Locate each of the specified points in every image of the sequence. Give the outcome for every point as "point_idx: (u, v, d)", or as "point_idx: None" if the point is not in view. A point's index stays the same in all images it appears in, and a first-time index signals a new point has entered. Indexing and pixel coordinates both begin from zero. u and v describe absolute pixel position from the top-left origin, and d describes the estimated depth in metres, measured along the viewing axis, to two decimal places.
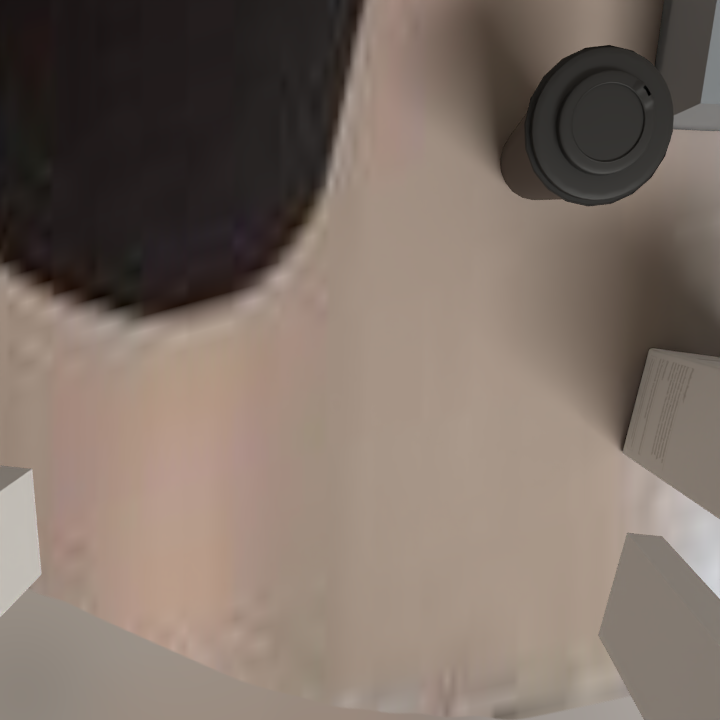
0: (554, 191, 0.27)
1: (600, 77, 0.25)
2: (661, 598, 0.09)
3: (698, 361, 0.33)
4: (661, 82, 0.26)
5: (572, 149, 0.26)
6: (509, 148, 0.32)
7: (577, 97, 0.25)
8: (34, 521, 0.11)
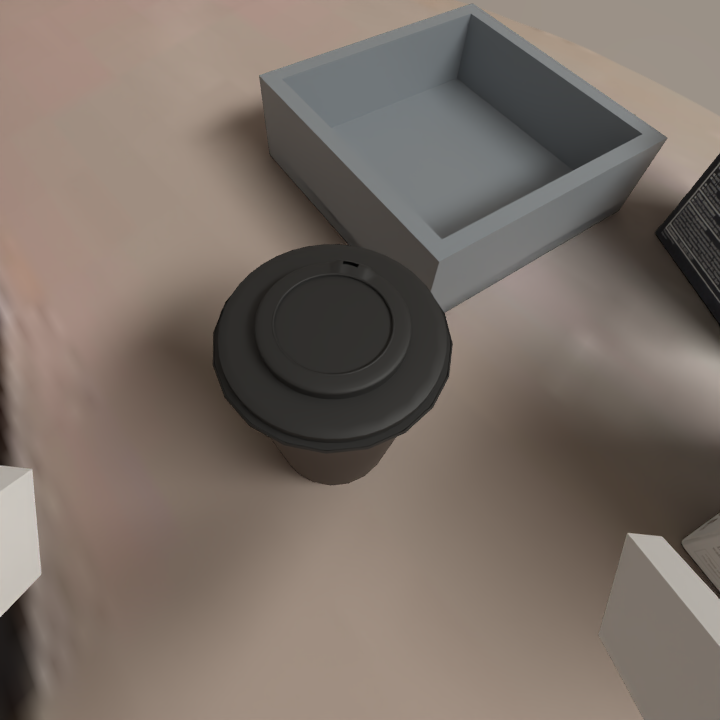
0: (338, 449, 0.15)
1: (281, 286, 0.16)
2: (661, 598, 0.09)
3: None
4: (363, 252, 0.18)
5: (310, 379, 0.15)
6: None
7: (267, 321, 0.16)
8: (34, 521, 0.11)
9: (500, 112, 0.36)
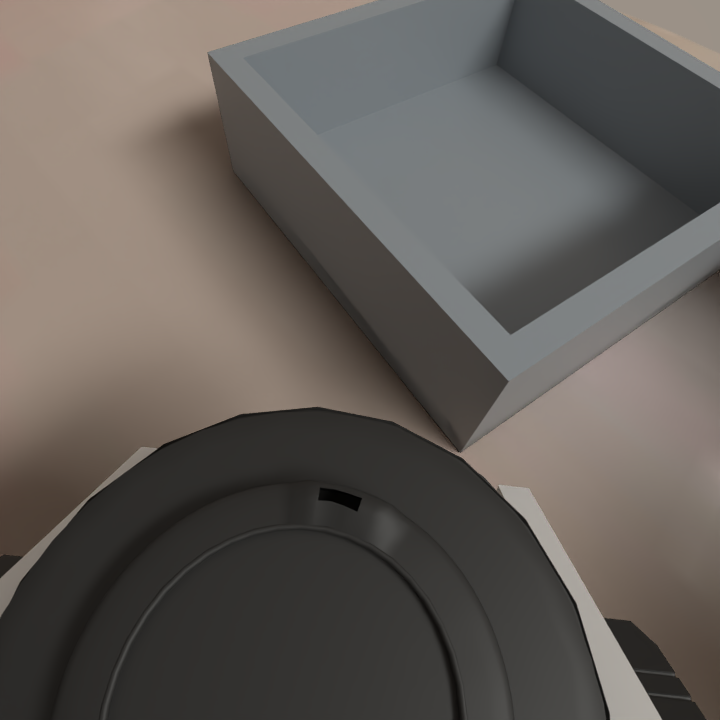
0: None
1: (147, 574, 0.06)
2: None
3: None
4: (373, 434, 0.07)
5: None
6: None
7: (87, 719, 0.05)
8: None
9: (560, 111, 0.25)
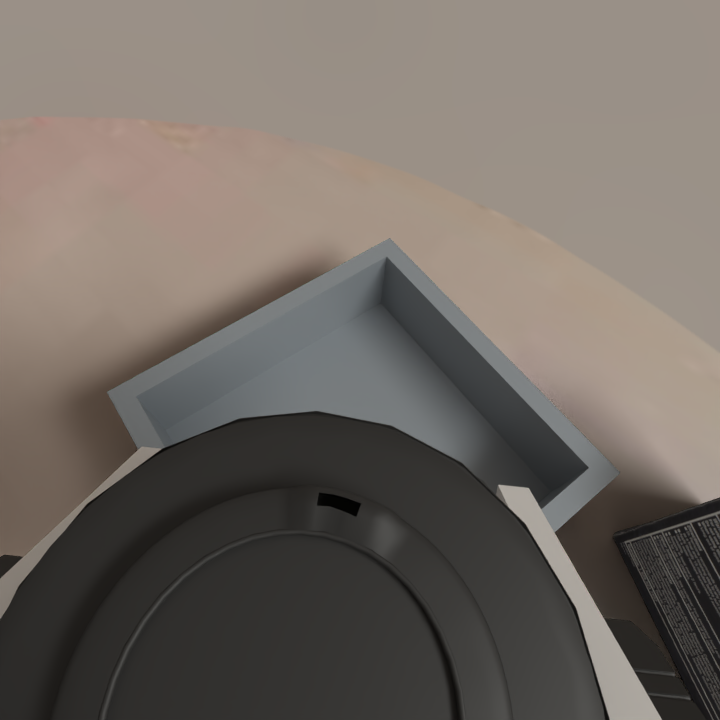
0: None
1: (145, 580, 0.06)
2: None
3: None
4: (372, 439, 0.07)
5: None
6: None
7: None
8: None
9: (429, 357, 0.30)
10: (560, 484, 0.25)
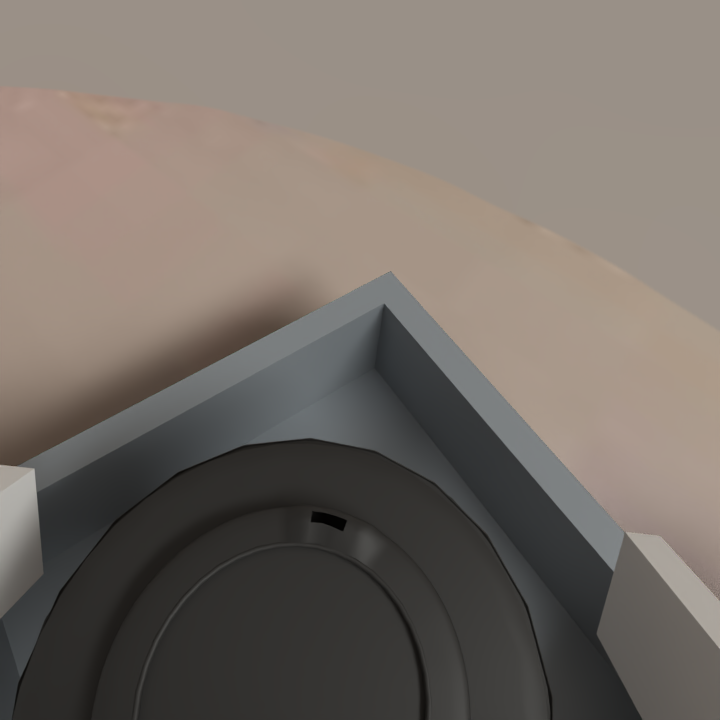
0: None
1: (170, 586, 0.07)
2: (659, 597, 0.09)
3: None
4: (357, 463, 0.09)
5: None
6: None
7: (124, 703, 0.06)
8: (36, 521, 0.11)
9: (450, 464, 0.18)
10: None
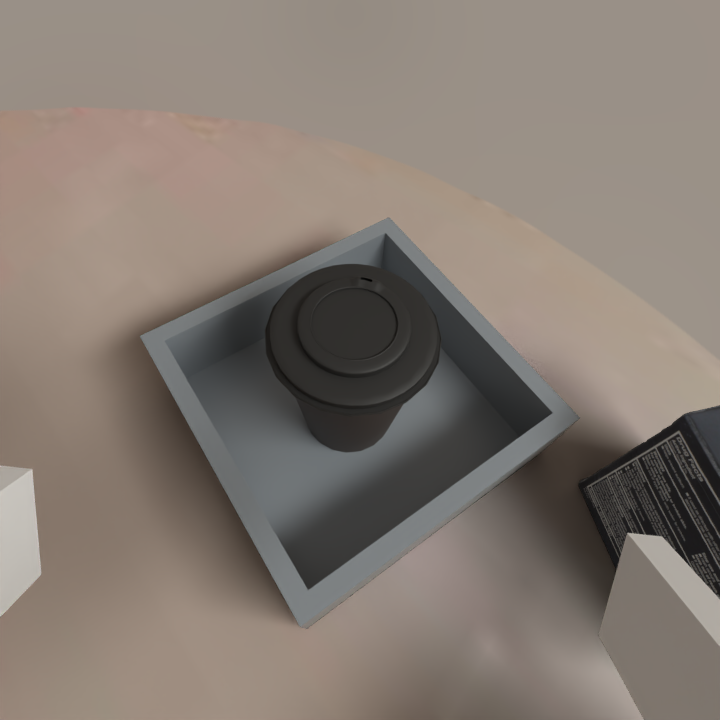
0: (358, 413, 0.20)
1: (315, 296, 0.22)
2: (661, 598, 0.09)
3: None
4: (375, 269, 0.24)
5: (339, 363, 0.20)
6: (303, 415, 0.27)
7: (306, 322, 0.21)
8: (34, 521, 0.11)
9: None
10: None
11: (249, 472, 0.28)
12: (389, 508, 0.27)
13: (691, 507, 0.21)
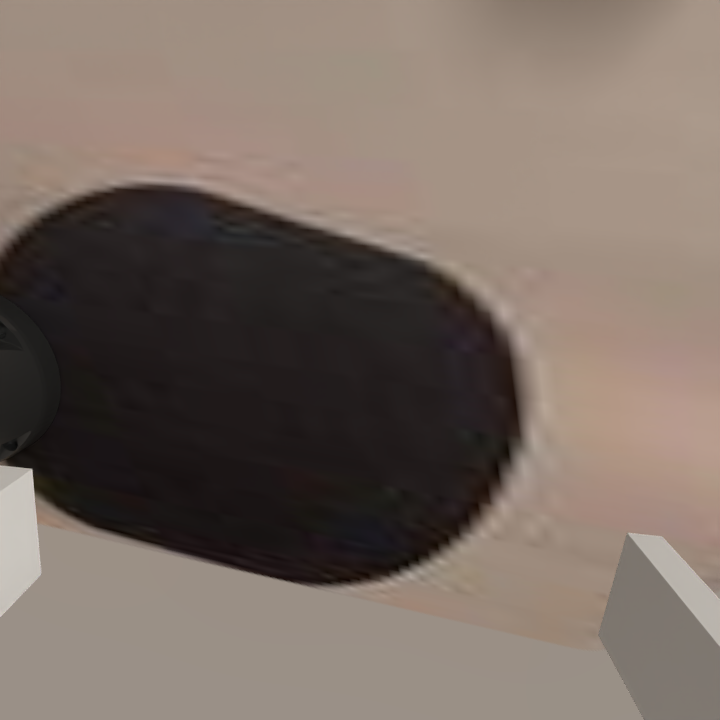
0: None
1: None
2: (662, 598, 0.09)
3: None
4: None
5: None
6: None
7: None
8: (34, 522, 0.11)
9: None
10: None
11: None
12: None
13: None
